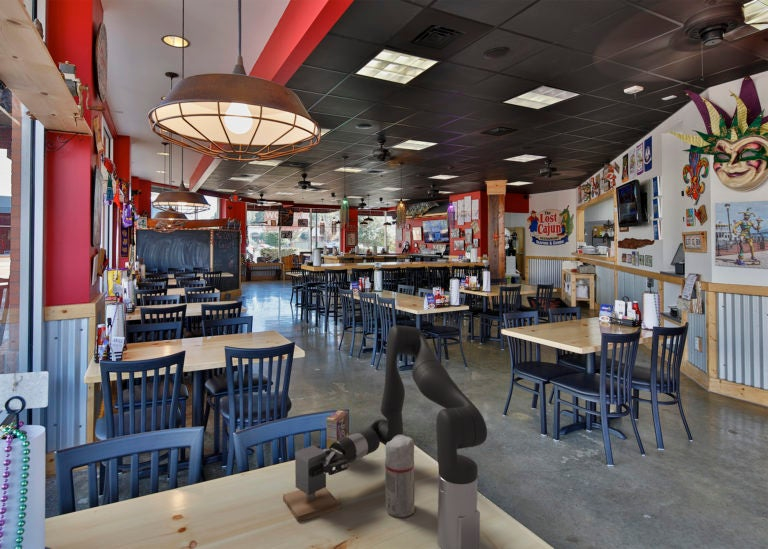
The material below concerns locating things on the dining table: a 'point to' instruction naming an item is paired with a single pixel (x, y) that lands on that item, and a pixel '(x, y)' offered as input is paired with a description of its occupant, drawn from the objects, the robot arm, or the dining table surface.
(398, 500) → the white spray can
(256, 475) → the dining table surface
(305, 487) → the brushed steel block
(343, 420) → the candy box
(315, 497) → the wooden square base
